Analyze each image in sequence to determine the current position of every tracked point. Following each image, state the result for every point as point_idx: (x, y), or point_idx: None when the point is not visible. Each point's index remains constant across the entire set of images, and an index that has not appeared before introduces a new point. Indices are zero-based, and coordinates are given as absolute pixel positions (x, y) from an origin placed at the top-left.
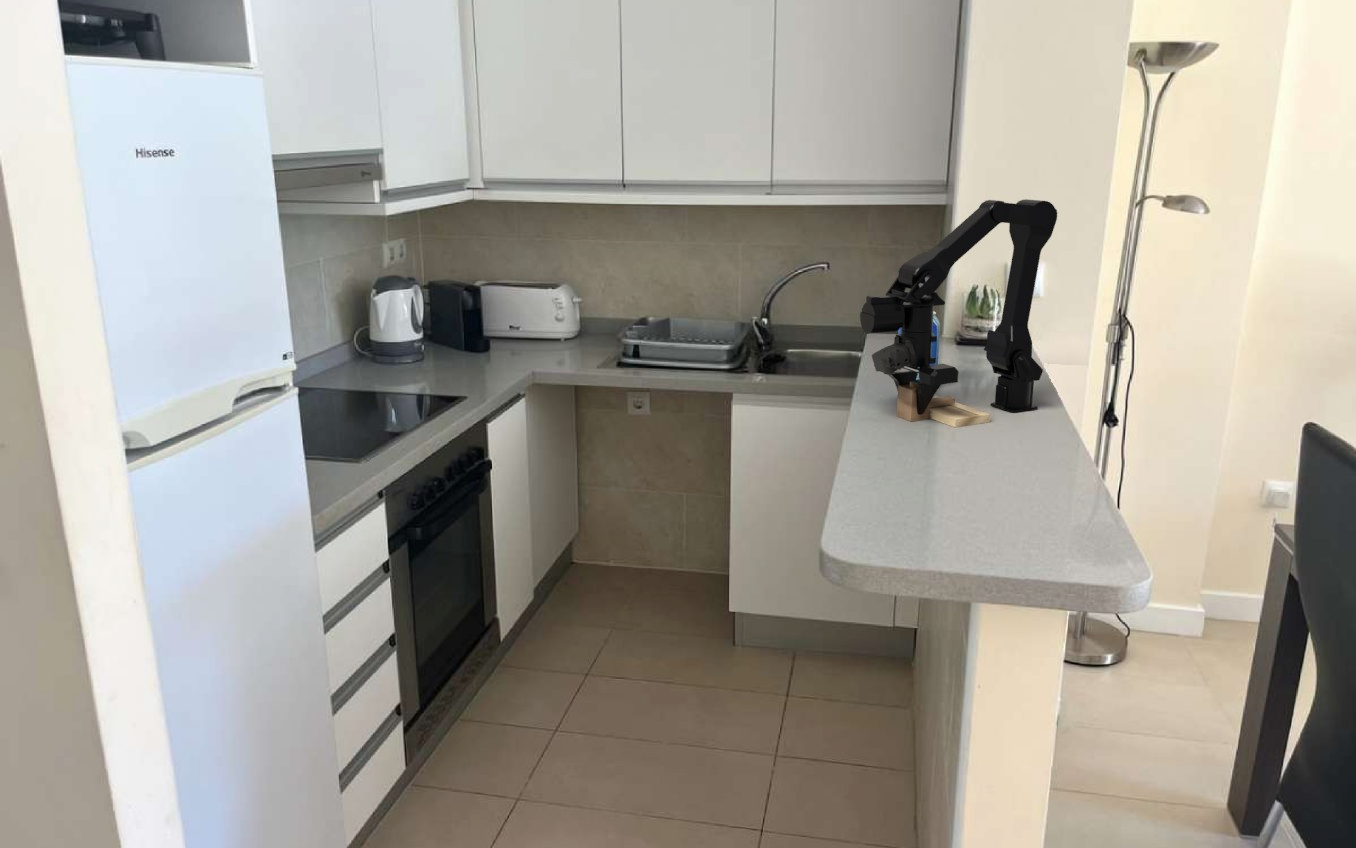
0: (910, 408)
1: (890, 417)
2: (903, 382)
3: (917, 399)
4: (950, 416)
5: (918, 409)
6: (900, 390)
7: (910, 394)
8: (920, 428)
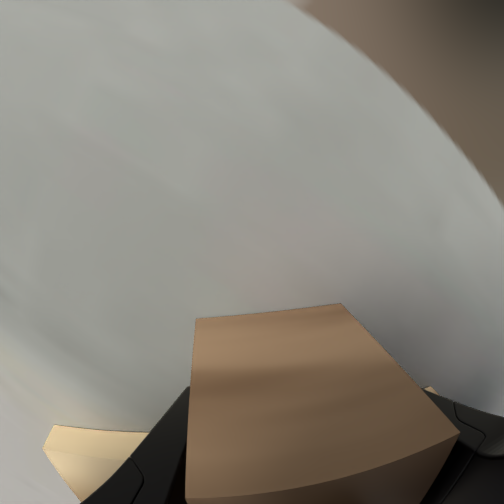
0: (203, 364)
1: (339, 256)
2: (457, 483)
3: (166, 450)
4: (92, 464)
5: (178, 402)
6: (402, 420)
7: (217, 453)
8: (56, 291)
